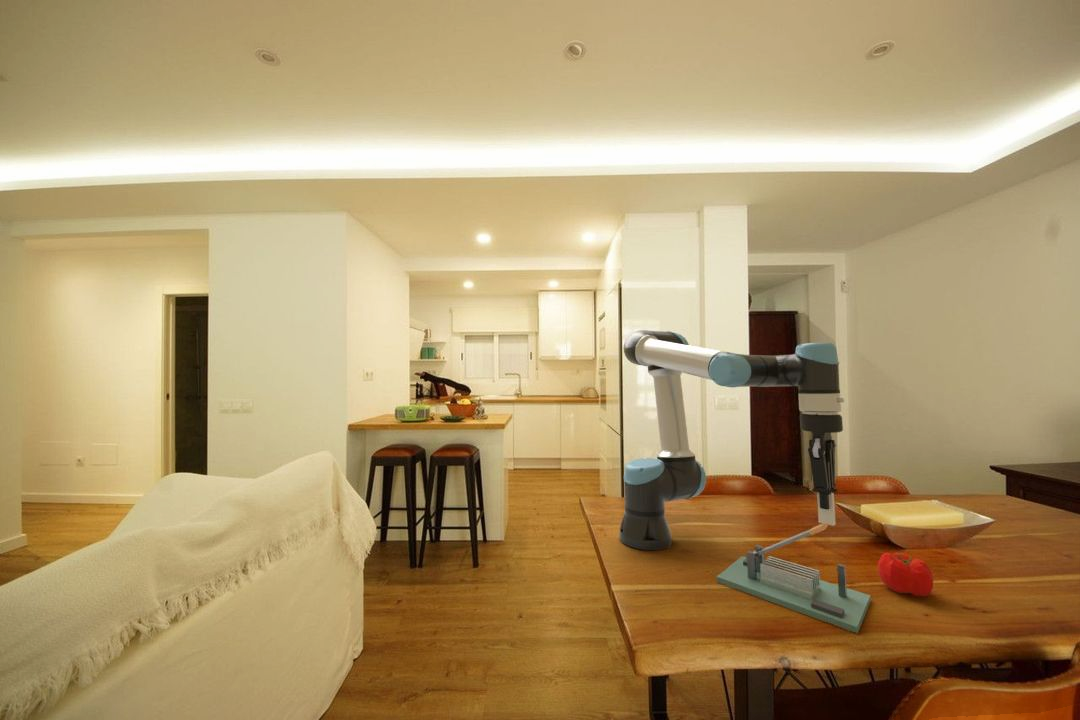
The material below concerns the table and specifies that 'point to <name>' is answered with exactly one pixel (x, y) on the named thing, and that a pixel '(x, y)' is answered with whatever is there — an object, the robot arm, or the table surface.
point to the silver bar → (790, 575)
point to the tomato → (905, 574)
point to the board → (821, 607)
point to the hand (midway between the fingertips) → (827, 523)
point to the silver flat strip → (792, 539)
